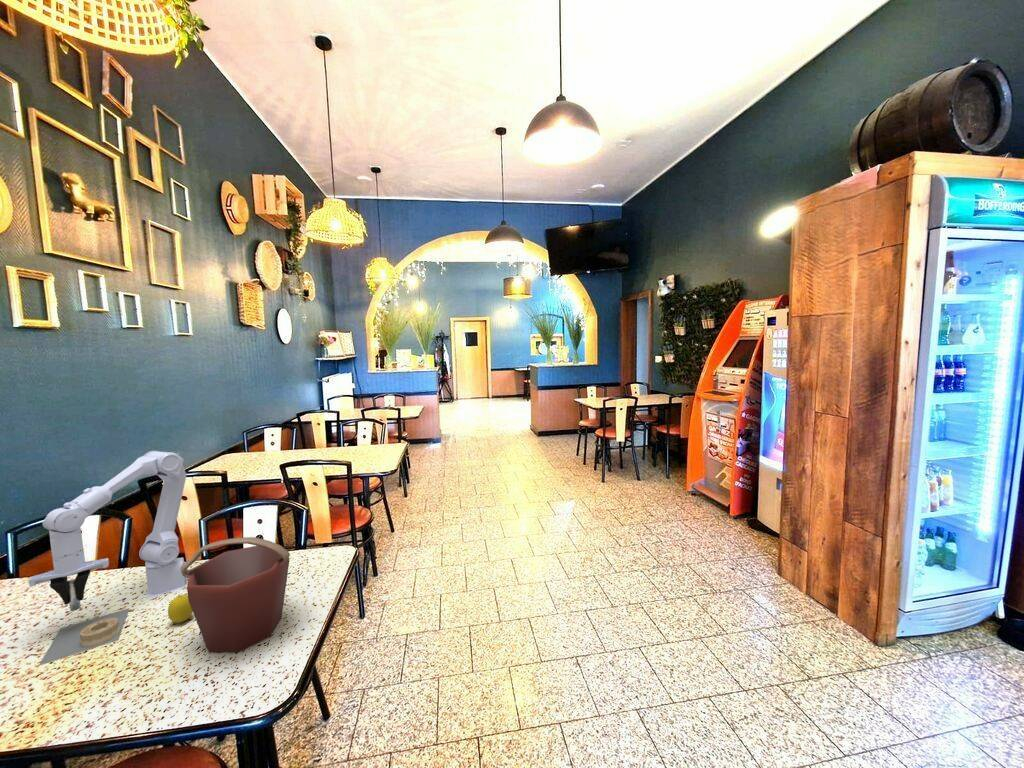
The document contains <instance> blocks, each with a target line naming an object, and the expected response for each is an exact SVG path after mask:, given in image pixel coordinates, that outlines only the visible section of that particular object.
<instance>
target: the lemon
mask: <svg viewBox="0 0 1024 768" xmlns="http://www.w3.org/2000/svg"><path fill="white" fill-rule="evenodd" d="M192 614H193V611H192V608H191V606H190V603H189V600H188V594H187V595H186V594H178V595H177V596H176V597H174V598H173V599H172V600H171V601H170V602H169V605H168V608H167V616H168V618H169V620H170V621H171V622H173V623H176V624H177V623H183V622H185V621H186V620H188V619H189V618H190V617H191V616H192Z"/></svg>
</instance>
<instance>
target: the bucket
mask: <svg viewBox="0 0 1024 768" xmlns="http://www.w3.org/2000/svg"><path fill="white" fill-rule="evenodd" d="M243 544H244V545H245V544H246V545H247V544H248V545H251V546H249V547H244V548H243V547H242V548H239V549H234V550H227V551H224V552H222V553H220V554H218V555H216V556H214V557H213V558H211V559H209V560H206V561H204V562H203V563H200V564H199V565H197V566H195V567H192V568H191V569H189V567H191V566H192V565H193V564H194V563H195V562H196V561H197V560H198V559H199V558H200V556H201V555H202V554H203V553H204V552H206V551H208V550H212V549H216V548H218V547H219V548H220V547H224V546H229V545H230V546H231V545H243ZM290 555H291V554H290V551H289V550H287V549H286V548H284V546H282V545H280V544H278V543H276V542H273V541H271V540H268V539H263V538H259V537H255V536H254V537H253V536H250V537H249V536H248V537H247V536H245V537H244V536H243V537H233V538H227V539H221V540H217V541H214V542H211V543H209V544H205V545H203V546H202V547H200V548H199V549H198V550H197V551H196V552H195V553H194V555H193V556H192V557H191V558H190V559H189V560H188V561H185V562H184V564H183V565H182V566H181V573H182V575H183V576H184V577H186V579H187V585H186V590H187V596H188V600H189V603H190V606H191V608H192V611H193V612H192V614H193V615H194V619H195V620H196V623H197V626H198V628H199V632H200V634H201V637H202V640H203V642H204V645H205V647H206V649H207V652H208V654H238V653H240V652H243V651H244V650H246V649H248V648H250V647H253V646H255V645H256V644H258V643H261V642H263V641H265V640H266V639H269V638H270V637H272V636H273V634H274V632H275V630H276V628H277V627H278V625H279V623H280V622H281V620H282V619H283V611H284V603H285V597H286V587H287V580H288V573H289V566H290Z"/></svg>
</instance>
